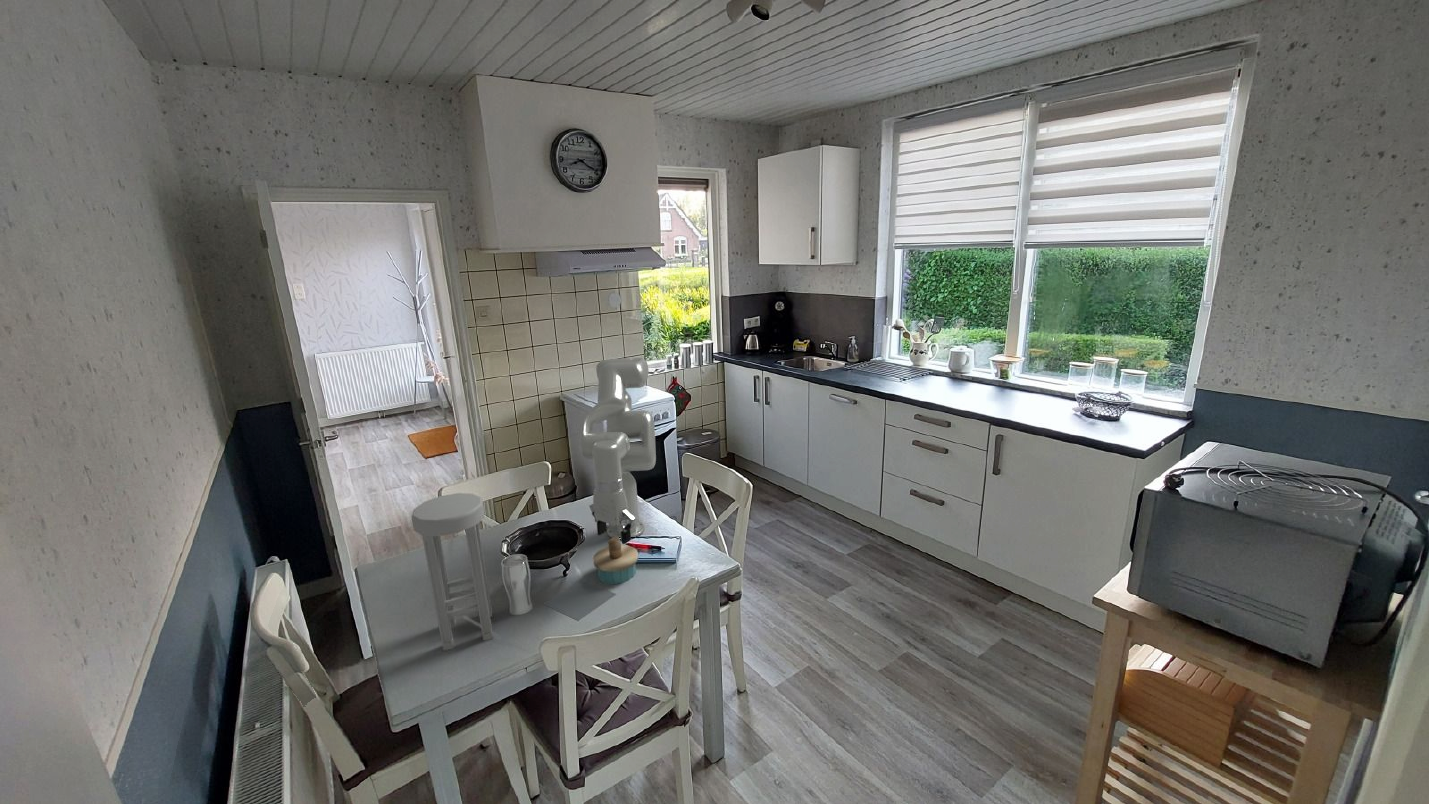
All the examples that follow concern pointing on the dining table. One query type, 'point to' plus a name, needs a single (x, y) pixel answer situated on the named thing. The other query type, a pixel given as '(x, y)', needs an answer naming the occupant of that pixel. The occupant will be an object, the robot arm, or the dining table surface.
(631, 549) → the lid
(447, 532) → the stool
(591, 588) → the mat
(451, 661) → the dining table surface
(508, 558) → the beer glass
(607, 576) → the bowl
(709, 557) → the dining table surface
